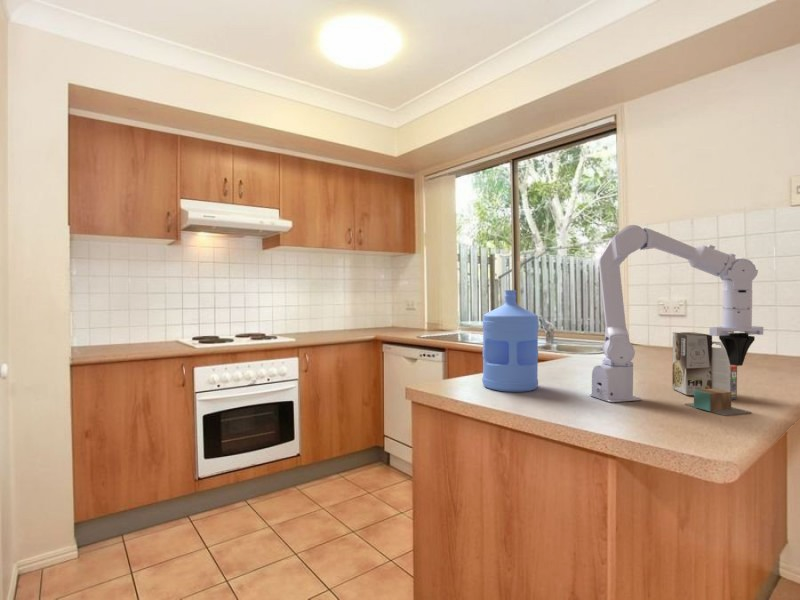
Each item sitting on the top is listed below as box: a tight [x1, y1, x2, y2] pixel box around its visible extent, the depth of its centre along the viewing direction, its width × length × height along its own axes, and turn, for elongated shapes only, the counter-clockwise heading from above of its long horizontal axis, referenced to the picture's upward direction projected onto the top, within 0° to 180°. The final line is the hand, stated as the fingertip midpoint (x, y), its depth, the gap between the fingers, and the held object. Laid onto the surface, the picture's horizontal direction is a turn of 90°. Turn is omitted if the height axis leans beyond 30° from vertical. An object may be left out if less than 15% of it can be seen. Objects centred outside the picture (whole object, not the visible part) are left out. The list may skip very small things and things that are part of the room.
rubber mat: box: [684, 402, 752, 417], centre depth 106 cm, size 8×10×1 cm
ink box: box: [711, 340, 738, 400], centre depth 119 cm, size 4×8×15 cm, turn 27°
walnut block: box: [693, 389, 732, 412], centre depth 106 cm, size 4×4×6 cm
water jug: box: [481, 289, 539, 393], centre depth 130 cm, size 16×16×28 cm
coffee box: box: [671, 331, 713, 396], centre depth 123 cm, size 9×6×16 cm
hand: (736, 365), depth 109 cm, fingers closed
